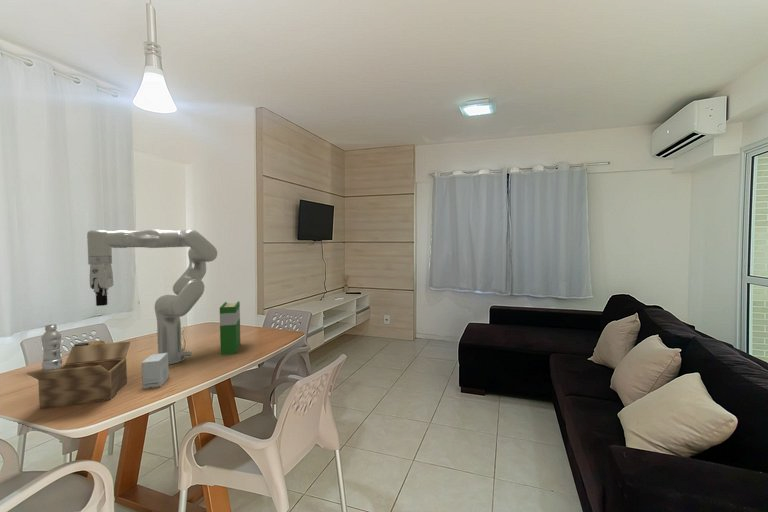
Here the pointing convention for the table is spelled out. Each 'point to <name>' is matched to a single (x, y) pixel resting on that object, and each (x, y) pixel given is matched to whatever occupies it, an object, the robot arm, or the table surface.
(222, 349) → the hardback book
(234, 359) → the table surface
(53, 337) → the plastic bottle
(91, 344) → the bread roll
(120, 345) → the right flap
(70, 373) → the left flap
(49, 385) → the carton
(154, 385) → the skincare box
